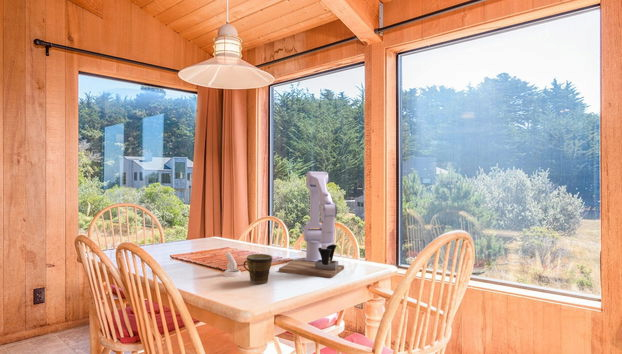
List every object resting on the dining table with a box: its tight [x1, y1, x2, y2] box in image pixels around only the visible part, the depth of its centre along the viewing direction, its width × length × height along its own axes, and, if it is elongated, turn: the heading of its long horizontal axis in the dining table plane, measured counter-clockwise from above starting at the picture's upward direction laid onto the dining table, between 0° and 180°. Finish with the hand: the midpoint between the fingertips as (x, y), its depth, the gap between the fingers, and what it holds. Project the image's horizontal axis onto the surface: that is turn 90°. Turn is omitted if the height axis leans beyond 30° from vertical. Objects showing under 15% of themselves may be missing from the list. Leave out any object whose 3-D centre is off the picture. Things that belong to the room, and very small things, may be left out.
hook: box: [223, 251, 243, 278], centre depth 166 cm, size 8×12×7 cm
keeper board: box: [278, 258, 345, 279], centre depth 178 cm, size 18×24×6 cm
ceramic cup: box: [243, 253, 273, 285], centre depth 155 cm, size 13×10×10 cm
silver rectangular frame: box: [315, 260, 339, 271], centre depth 176 cm, size 6×9×3 cm, turn 74°
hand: (327, 262), depth 176 cm, fingers open, 7 cm apart
